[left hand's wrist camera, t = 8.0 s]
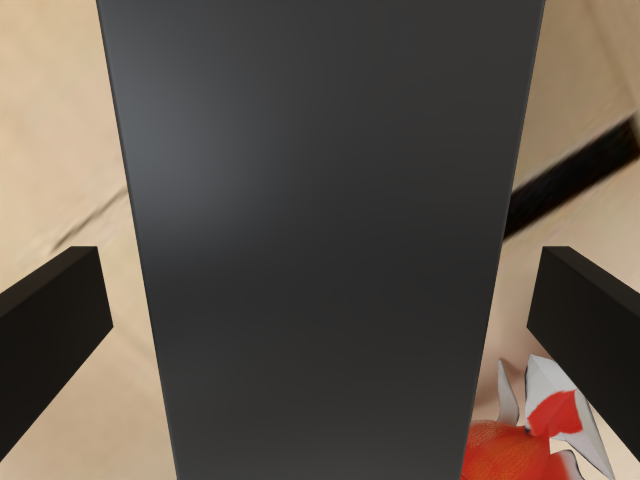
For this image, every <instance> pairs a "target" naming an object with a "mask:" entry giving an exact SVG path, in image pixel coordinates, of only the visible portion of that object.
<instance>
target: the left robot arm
mask: <svg viewBox="0 0 640 480" xmlns="http://www.w3.org/2000/svg"><path fill="white" fill-rule="evenodd" d="M112 328H113V322H112V317H111V312H110V307H109V302H108V298H107V293H106V288H105V283H104V278H103V273H102V268H101V263H100V258H99V253H98V248H97V246H71V247H69V248H68V249H66V250H65V251H63V252H62V253H60V254H59V255H57V256H56V257H54V258H53V259H51V260H50V261H48V262H47V263H45V264H44V265H42V266H41V267H39V268H38V269H36V270H35V271H33V272H32V273H31V274H29V275H28V276H26V277H25V278H23V279H22V280H20V281H19V282H17V283H16V284H14V285H13V286H11V287H10V288H8V289H7V290H5V291H4V292H2V293H1V294H0V462H1V461H2V460H3V459H4V457H5V456H6V455H7V454H8V453H9V451H10V450H11V449H12V448H13V447H14V445H15V444H16V443H17V442H18V441H19V439H20V438H21V437H22V436H23V435H24V433H25V432H26V431H27V430H28V429H29V427H30V426H31V425H32V424H33V423H34V421H35V420H36V419H37V418H38V417H39V416H40V414H41V413H42V412H43V411H44V410H45V408H46V407H47V406H48V405H49V404H50V402H51V401H52V400H53V399H54V398H55V396H56V395H57V394H58V393H59V392H60V390H61V389H62V388H63V387H64V386H65V384H66V383H67V382H68V381H69V380H70V378H71V377H72V376H73V375H74V374H75V372H76V371H77V370H78V369H79V368H80V366H81V365H82V364H83V363H84V362H85V360H86V359H87V358H88V357H89V356H90V355H91V353H92V352H93V351H94V350H95V349H96V347H97V346H98V345H99V344H100V343H101V341H102V340H103V339H104V338H105V337H106V335H107V334H108V333H109V332H110V331H111V329H112ZM527 328H528V329H529V331H530V332H531V333H532V334H533V335H534V337H535V338H536V339H537V340H538V341H539V343H540V344H541V345H542V346H543V347H544V349H545V350H546V351H547V352H548V353H549V355H550V356H551V357H552V358H553V359H554V360H555V362H556V363H557V364H558V365H559V366H560V368H561V369H562V370H563V371H564V372H565V374H566V375H567V376H568V377H569V378H570V380H571V381H572V382H573V383H574V384H575V386H576V387H577V388H578V389H579V390H580V392H581V393H582V394H583V395H584V396H585V398H586V399H587V400H588V401H589V402H590V404H591V405H592V406H593V407H594V408H595V410H596V411H597V412H598V413H599V414H600V416H601V417H602V418H603V419H604V420H605V421H606V423H607V424H608V425H609V426H610V427H611V429H612V430H613V431H614V432H615V433H616V435H617V436H618V437H619V438H620V439H621V441H622V442H623V443H624V444H625V445H626V447H627V448H628V449H629V450H630V451H631V453H632V454H633V455H634V456H635V457H636V459H637V460H638V461H639V462H640V294H639V293H638V292H636V291H635V290H633V289H632V288H630V287H629V286H627V285H626V284H624V283H623V282H621V281H620V280H618V279H617V278H615V277H614V276H612V275H611V274H609V273H608V272H607V271H605V270H604V269H602V268H601V267H599V266H598V265H596V264H595V263H593V262H592V261H590V260H589V259H587V258H586V257H584V256H583V255H581V254H580V253H578V252H577V251H575V250H574V249H572V248H571V247H569V246H543V248H542V253H541V258H540V263H539V268H538V273H537V278H536V283H535V288H534V293H533V298H532V302H531V307H530V312H529V317H528V322H527Z"/></svg>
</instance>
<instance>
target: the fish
mask: <svg viewBox="0 0 640 480" xmlns="http://www.w3.org/2000/svg"><path fill="white" fill-rule="evenodd" d="M498 393H499V402H500V413H499V417H498V420H497V421H493V420H476V421H471V422H470V427H469V433H468V439H467V444H466V450H465V456H464V461H463V467H462V472H461V478H460V480H585V479H584V478H583V477H582V476H581V474H580V471H579V468H578V464H577V460H576V457H575V455H574V453H573V451H572V450H563V451H559V452H556V453H553V454H551V455H550V446H549V438H552V439H556V440H561V441H567V442H568V443H569V444H570V445H571V446H572V447H573V448H574V449H575V450H576V451H578V452H579V453H580V454H581V455H582V456H583V457H584V458H585V459H586V460H587V461H588V462H590V463H591V464H592V465H593V466H594V467H595V468H596V469H598V470H599V471H600V472H601V473H602V474H603V475H605V476H606V477H607V478H608V479H609V480H615V477H614V474H613V471H612V468H611V465H610V462H609V460H608V457H607V454H606V451H605V448H604V445H603V442H602V440H601V437H600V434H599V431H598V429H597V426H596V423H595V420H594V418H593V415H592V412H591V409H590V406H589V404H588V401H587V399H586V398H585V396H584V395H583V394H582V393H581V392H580V390H579V389H578V388H577V387H576V386H575V384H574V383H573V382H572V381H571V380H570V378H569V377H568V376H567V375H566V374H565V372H564V371H563V370H562V369H561V368H560V366H559V365H558V364H557V363H556V362H555V361H554V360H551V359H547V358H543V357H540V356H536V355H532V354H530V356H529V360H528V364H527V368H526V372H525V393H526V404H525V426H516V424H517V422H518V419H519V407H518V404H517V401H516V399H515V396H514V394H513V391H512V389H511V386H510V384H509V381H508V378H507V376H506V373H505V370H504V367H503V364H502V361H500V360H499V361H498Z"/></svg>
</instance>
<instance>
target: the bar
mask: <svg viewBox="0 0 640 480" xmlns="http://www.w3.org/2000/svg"><path fill="white" fill-rule="evenodd" d="M96 4H97V10H98V15H99V21H100V27H101V33H102V39H103V45H104V51H105V57H106V63H107V69H108V74H109V80H110V86H111V92H112V98H113V104H114V110H115V116H116V122H117V127H118V133H119V139H120V145H121V151H122V157H123V163H124V169H125V175H126V180H127V186H128V192H129V198H130V204H131V210H132V216H133V222H134V228H135V233H136V239H137V245H138V251H139V257H140V263H141V269H142V275H143V281H144V286H145V292H146V298H147V304H148V310H149V316H150V322H151V328H152V334H153V340H154V345H155V351H156V357H157V363H158V369H159V375H160V381H161V387H162V393H163V398H164V404H165V410H166V416H167V422H168V428H169V434H170V440H171V446H172V451H173V457H174V463H175V469H176V475H177V480H460V478H461V472H462V467H463V461H464V456H465V450H466V444H467V439H468V433H469V427H470V422H471V416H472V411H473V405H474V399H475V394H476V388H477V382H478V377H479V371H480V366H481V360H482V354H483V349H484V343H485V337H486V332H487V326H488V321H489V315H490V309H491V304H492V298H493V293H494V287H495V281H496V276H497V270H498V264H499V259H500V253H501V248H502V242H503V236H504V231H505V225H506V219H507V214H508V208H509V203H510V197H511V191H512V186H513V180H514V174H515V169H516V163H517V158H518V152H519V146H520V141H521V135H522V129H523V124H524V118H525V113H526V107H527V101H528V96H529V90H530V84H531V79H532V73H533V68H534V62H535V56H536V51H537V45H538V39H539V34H540V28H541V23H542V17H543V11H544V6H545V0H96Z"/></svg>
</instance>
